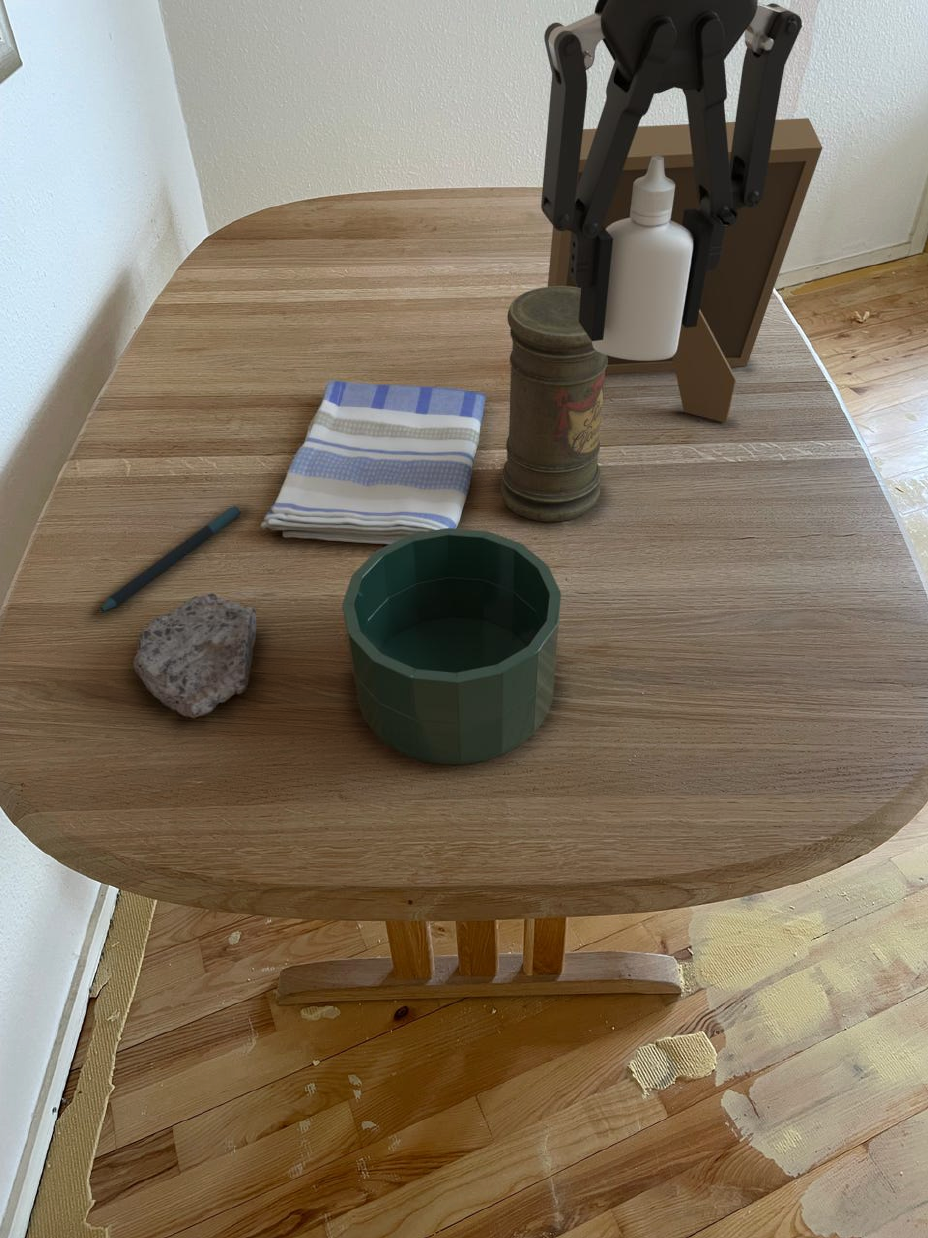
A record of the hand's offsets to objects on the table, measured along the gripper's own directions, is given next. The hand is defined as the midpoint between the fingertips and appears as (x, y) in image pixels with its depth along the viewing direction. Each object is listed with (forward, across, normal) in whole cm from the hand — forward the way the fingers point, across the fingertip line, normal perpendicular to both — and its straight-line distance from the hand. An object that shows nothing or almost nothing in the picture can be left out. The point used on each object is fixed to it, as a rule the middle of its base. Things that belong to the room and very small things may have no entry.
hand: (637, 323), depth 59 cm
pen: (+23, +35, -12) cm, 44 cm away
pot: (+23, +15, +8) cm, 28 cm away
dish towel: (+23, +15, -20) cm, 34 cm away
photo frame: (+23, -15, -26) cm, 38 cm away
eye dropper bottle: (+2, 0, 0) cm, 2 cm away
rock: (+23, +33, +1) cm, 40 cm away
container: (+23, +1, -12) cm, 26 cm away
